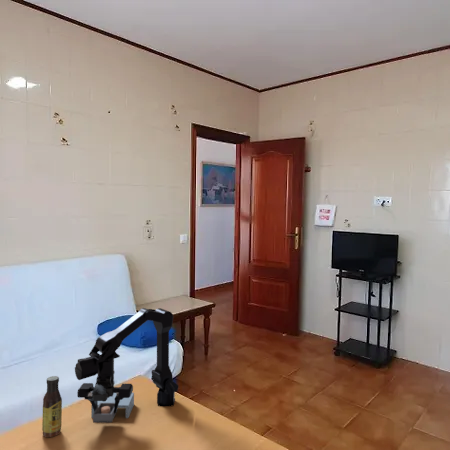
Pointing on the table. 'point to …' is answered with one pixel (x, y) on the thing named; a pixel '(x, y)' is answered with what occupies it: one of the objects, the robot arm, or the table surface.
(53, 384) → the sauce bottle
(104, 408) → the tan rounded dome
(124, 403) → the grey small bench
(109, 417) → the tray
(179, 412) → the table surface
